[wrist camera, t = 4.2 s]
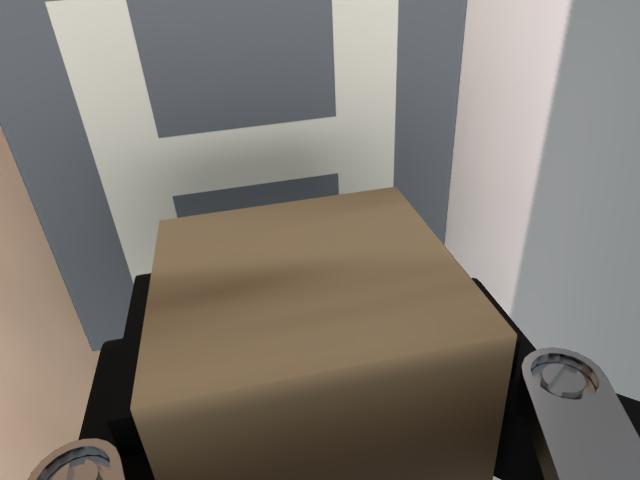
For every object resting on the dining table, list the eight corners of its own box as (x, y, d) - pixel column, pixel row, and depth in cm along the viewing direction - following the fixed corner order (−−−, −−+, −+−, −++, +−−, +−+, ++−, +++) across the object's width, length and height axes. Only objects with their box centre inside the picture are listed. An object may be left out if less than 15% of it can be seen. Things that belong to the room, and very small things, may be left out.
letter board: (429, 272, 22) (440, 289, 21) (97, 330, 20) (92, 352, 19) (459, -115, 15) (479, -117, 14) (-64, -85, 13) (-86, -84, 12)
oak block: (393, 358, 14) (481, 545, 9) (203, 395, 13) (203, 615, 9) (395, 186, 11) (516, 334, 7) (159, 220, 10) (129, 409, 6)
